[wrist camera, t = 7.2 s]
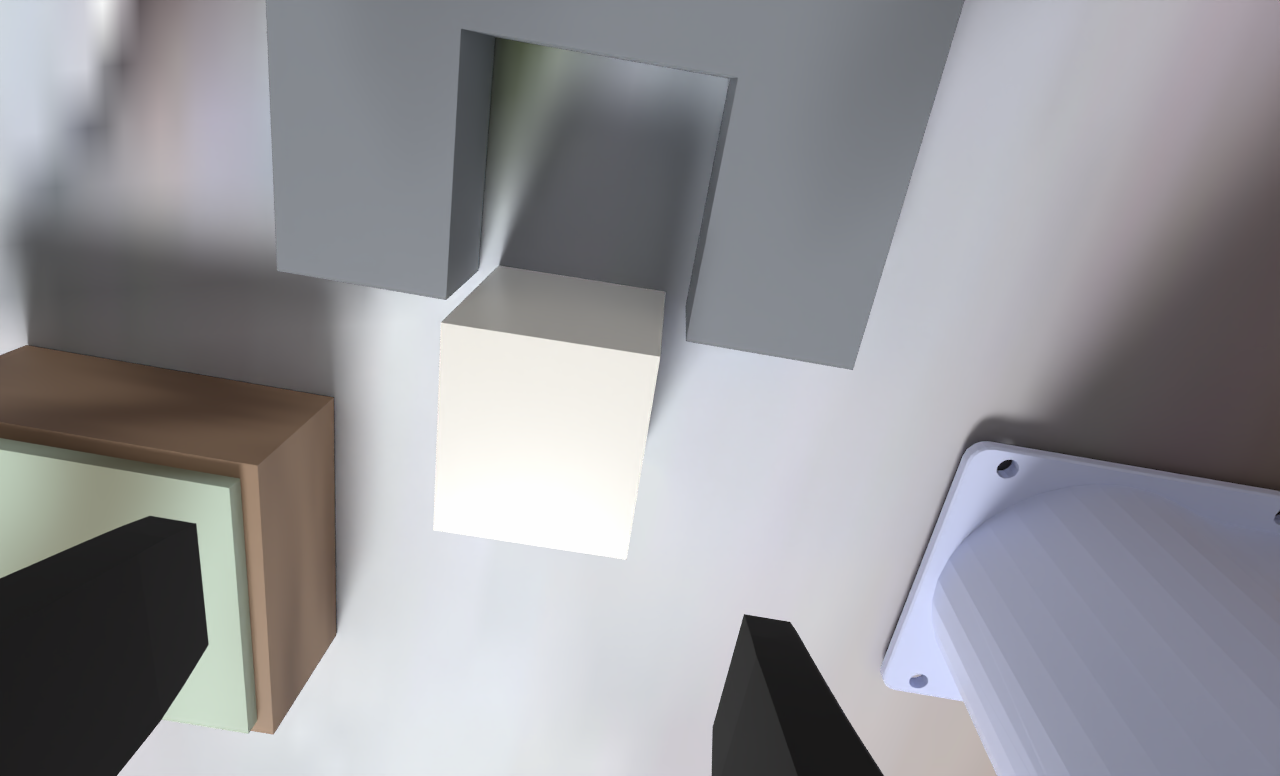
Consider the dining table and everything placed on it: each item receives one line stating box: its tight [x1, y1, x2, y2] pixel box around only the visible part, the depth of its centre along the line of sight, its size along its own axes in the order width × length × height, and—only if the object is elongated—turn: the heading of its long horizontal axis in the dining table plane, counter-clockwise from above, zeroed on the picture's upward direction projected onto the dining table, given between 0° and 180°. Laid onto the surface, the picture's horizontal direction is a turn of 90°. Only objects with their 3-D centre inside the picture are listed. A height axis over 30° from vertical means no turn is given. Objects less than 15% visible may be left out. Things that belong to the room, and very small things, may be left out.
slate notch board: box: [266, 0, 964, 370], centre depth 14 cm, size 12×12×2 cm
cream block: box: [433, 266, 666, 560], centre depth 16 cm, size 4×4×4 cm
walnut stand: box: [0, 345, 336, 734], centre depth 18 cm, size 8×8×4 cm
